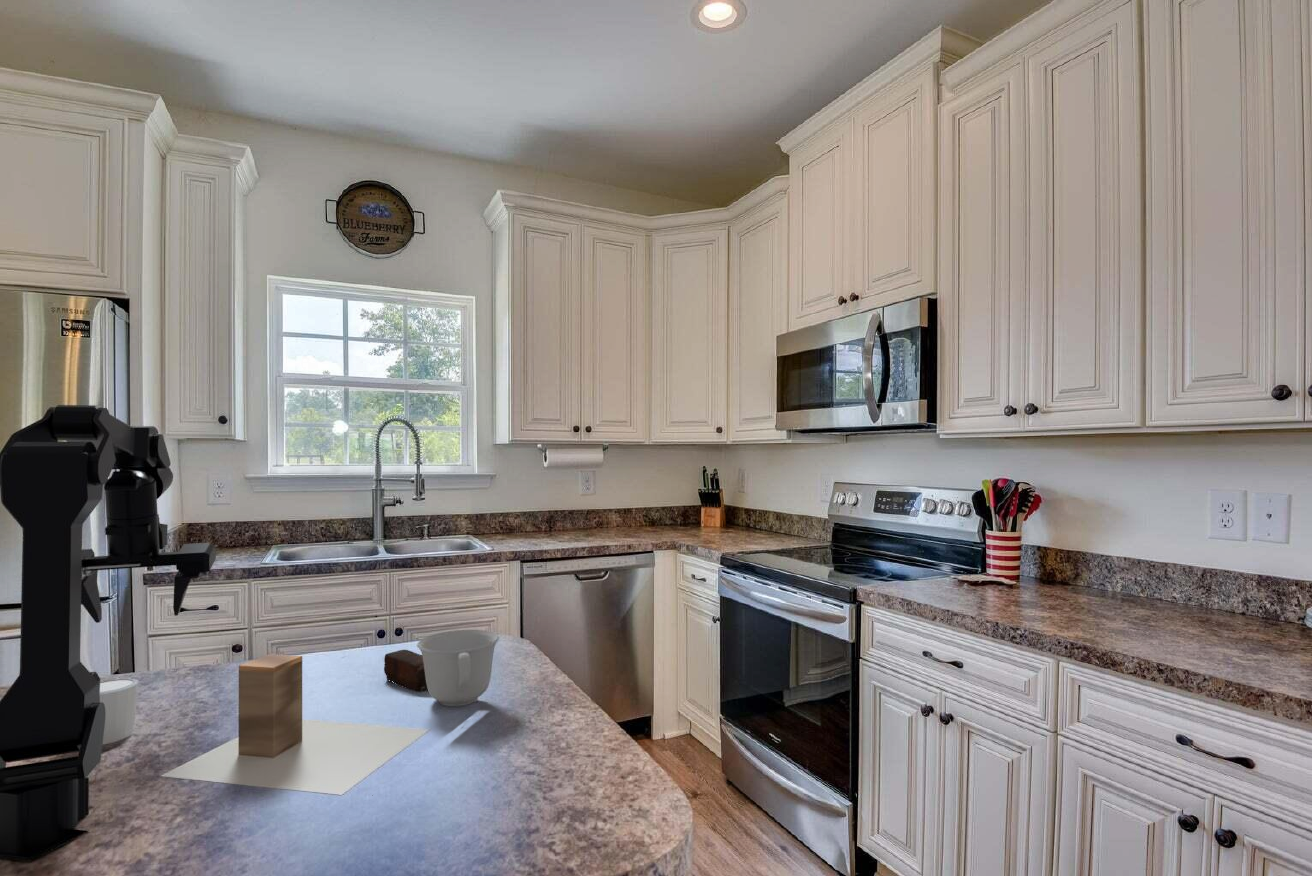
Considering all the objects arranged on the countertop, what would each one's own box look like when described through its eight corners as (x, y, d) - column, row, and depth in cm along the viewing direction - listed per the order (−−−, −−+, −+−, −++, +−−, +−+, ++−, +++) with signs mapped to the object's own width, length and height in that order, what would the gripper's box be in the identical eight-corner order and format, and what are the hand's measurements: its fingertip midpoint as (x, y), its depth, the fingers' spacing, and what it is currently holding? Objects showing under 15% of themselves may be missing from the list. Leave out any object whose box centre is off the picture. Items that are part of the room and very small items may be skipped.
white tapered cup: (102, 749, 89) (103, 695, 89) (60, 746, 90) (61, 692, 90) (151, 729, 96) (151, 678, 96) (111, 725, 97) (111, 676, 97)
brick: (383, 681, 115) (383, 653, 115) (404, 675, 118) (404, 648, 118) (418, 694, 109) (418, 665, 109) (440, 687, 112) (440, 659, 112)
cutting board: (341, 804, 74) (341, 794, 74) (160, 784, 79) (160, 776, 79) (430, 736, 92) (430, 729, 92) (277, 724, 97) (277, 717, 97)
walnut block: (273, 758, 83) (273, 667, 84) (238, 754, 84) (238, 665, 85) (302, 741, 88) (302, 655, 89) (269, 738, 89) (269, 654, 90)
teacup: (420, 734, 92) (419, 660, 93) (415, 698, 106) (414, 634, 106) (509, 720, 97) (508, 649, 97) (493, 688, 111) (493, 626, 111)
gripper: (220, 496, 107) (223, 590, 109) (69, 501, 99) (77, 601, 102) (206, 517, 97) (210, 619, 99) (38, 524, 89) (47, 635, 92)
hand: (138, 617), depth 98 cm, fingers open, 9 cm apart
